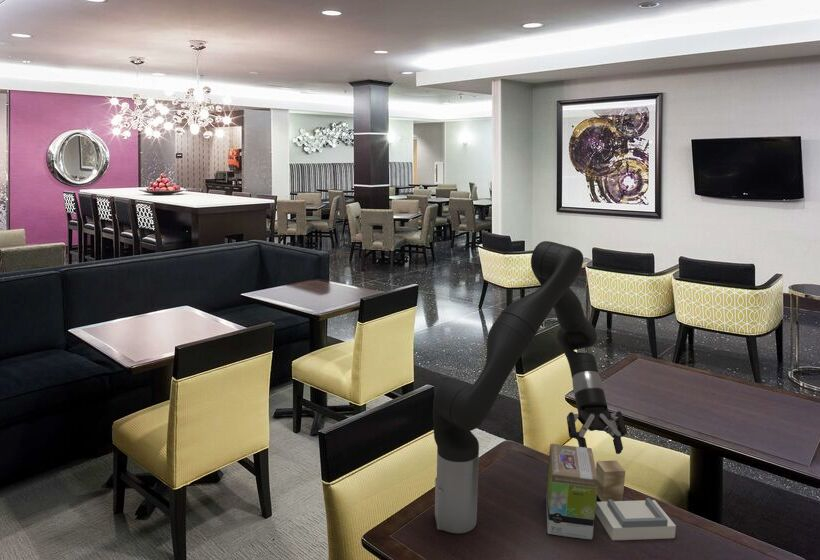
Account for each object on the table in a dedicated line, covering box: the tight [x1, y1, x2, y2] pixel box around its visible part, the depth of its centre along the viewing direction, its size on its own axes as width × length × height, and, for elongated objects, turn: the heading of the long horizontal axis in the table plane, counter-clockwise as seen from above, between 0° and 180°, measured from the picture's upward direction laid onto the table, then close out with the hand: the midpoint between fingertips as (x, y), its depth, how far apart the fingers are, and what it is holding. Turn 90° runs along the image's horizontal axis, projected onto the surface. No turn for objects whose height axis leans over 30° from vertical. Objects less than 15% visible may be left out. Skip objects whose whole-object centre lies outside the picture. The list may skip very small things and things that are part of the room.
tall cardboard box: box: [595, 460, 626, 502], centre depth 144 cm, size 5×5×9 cm
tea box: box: [545, 443, 598, 540], centre depth 136 cm, size 15×10×15 cm, turn 168°
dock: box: [595, 497, 677, 541], centre depth 134 cm, size 14×10×4 cm
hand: (602, 453), depth 148 cm, fingers open, 8 cm apart
